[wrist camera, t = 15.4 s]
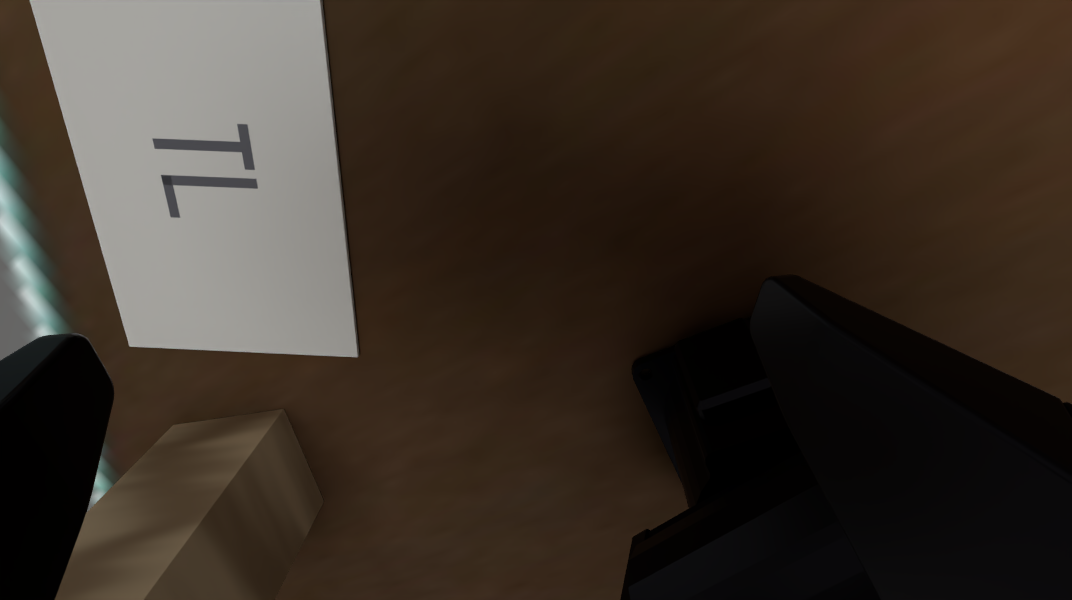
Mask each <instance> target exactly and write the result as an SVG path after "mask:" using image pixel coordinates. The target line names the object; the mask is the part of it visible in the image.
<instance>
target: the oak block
mask: <svg viewBox="0 0 1072 600" xmlns="http://www.w3.org/2000/svg"><path fill="white" fill-rule="evenodd" d="M323 502H324V500H323V497H322V495H321V493H320V491H319V488H318V486H317V484H316V481H315V479H314V477H313V475H312V472H311V470H310V468H309V465H308V463H307V461H306V458H305V456H304V454H303V452H302V449H301V447H300V445H299V442H298V440H297V438H296V436H295V433H294V431H293V429H292V426H291V424H290V422H289V419H288V417H287V415H286V413H285V410H284V409H279V410H272V411H266V412H259V413H252V414H245V415H238V416H231V417H225V418H218V419H211V420H204V421H197V422H190V423H184V424H177V425H173V426H172V427H171V428H170V429H169V430H168V431H167V432H166V433H165V434H164V435H163V436H162V437H161V438H160V439H159V440H158V441H157V442H156V443H155V444H154V445H153V446H152V447H151V448H150V449H149V450H148V451H147V452H146V453H145V454H144V455H143V456H142V457H141V458H140V459H139V460H138V461H137V462H136V463H135V464H134V465H133V466H132V467H131V468H130V469H129V470H128V471H127V472H126V473H125V474H124V475H123V476H122V477H121V478H120V479H119V480H118V481H117V482H116V483H115V484H114V485H113V486H112V487H111V489H110V490H109V491H108V492H107V493H106V494H105V495H104V496H103V497H102V498H101V499H100V500H99V501H98V502H97V503H96V504H95V505H94V506H93V507H92V508H91V509H90V510H89V511H88V512H87V513H86V515H85V518H84V521H83V524H82V527H81V530H80V533H79V535H78V538H77V541H76V543H75V546H74V549H73V552H72V554H71V557H70V560H69V563H68V565H67V568H66V571H65V573H64V576H63V579H62V582H61V584H60V587H59V590H58V593H57V595H56V598H55V600H274V599H275V597H276V595H277V594H278V592H279V590H280V588H281V586H282V584H283V582H284V580H285V578H286V576H287V574H288V572H289V570H290V568H291V566H292V564H293V562H294V560H295V558H296V556H297V554H298V552H299V550H300V548H301V546H302V544H303V542H304V540H305V538H306V536H307V534H308V532H309V530H310V528H311V526H312V524H313V522H314V520H315V518H316V516H317V514H318V512H319V510H320V508H321V506H322V504H323Z"/></svg>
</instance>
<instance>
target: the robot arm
mask: <svg viewBox="0 0 1072 600" xmlns="http://www.w3.org/2000/svg"><path fill="white" fill-rule="evenodd" d="M643 369H649V370H651V371H650V373H648V374H646V375H642V374H640V371H641V370H643ZM631 370H632V375H633V379H634V381H635V384H636V386H637V388H638V390H639V392H640V394H641V396H642V399H643V401H644V403H645V405H646V407H647V409H648V412H649V414H650V416H651V418H652V420H653V422H654V424H655V427H656V429H657V431H658V433H659V435H660V437H661V439H662V442H663V444H664V446H665V448H666V450H667V452H668V454H669V457H670V459H671V461H672V463H673V465H674V467H675V469H676V472H677V474H678V476H679V478H680V480H681V482H682V485H683V488H684V492H685V496H686V499H687V503H688V507H689V509H688V510H686V511H684V512H682V513H681V514H679V515H677V516H675V517H674V518H672V519H670V520H668V521H667V522H665V523H663V524H661V525H660V526H658V527H656V528H654V529H653V530H651V531H650V530H649V529H646V530H644V531H642V532H641V533H639V534H637V535H635V536H634V537H633V538H632V543H631V548H630V554H629V559H628V564H627V569H626V574H625V579H624V584H623V589H622V594H621V599H620V600H1072V404H1070V403H1068V402H1064V403H1062V401H1061V400H1060V399H1059V398H1057V397H1055V396H1053V395H1051V394H1049V393H1047V392H1044V391H1042V390H1040V389H1038V388H1036V387H1034V386H1032V385H1030V384H1027V383H1025V382H1023V381H1021V380H1019V379H1017V378H1015V377H1012V376H1010V375H1008V374H1006V373H1004V372H1002V371H1000V370H998V369H995V368H993V367H991V366H989V365H987V364H985V363H983V362H980V361H978V360H976V359H974V358H972V357H970V356H968V355H965V354H963V353H961V352H959V351H957V350H955V349H953V348H951V347H948V346H946V345H944V344H942V343H940V342H938V341H936V340H933V339H931V338H929V337H927V336H925V335H923V334H921V333H919V332H916V331H914V330H912V329H910V328H908V327H906V326H904V325H901V324H899V323H897V322H895V321H893V320H891V319H889V318H887V317H884V316H882V315H880V314H878V313H876V312H874V311H872V310H869V309H867V308H865V307H863V306H861V305H859V304H857V303H855V302H852V301H850V300H848V299H846V298H844V297H842V296H840V295H837V294H835V293H833V292H831V291H829V290H827V289H825V288H823V287H820V286H818V285H816V284H814V283H812V282H810V281H808V280H805V279H803V278H801V277H799V276H796V275H781V276H771V277H768V278H767V279H766V280H765V281H764V282H763V284H762V286H761V289H760V292H759V295H758V298H757V301H756V304H755V307H754V310H753V313H752V316H751V317H750V318H747V319H743V318H739V319H736V320H734V321H731V322H728V323H726V324H723V325H720V326H718V327H715V328H712V329H710V330H707V331H704V332H702V333H699V334H697V335H694V336H691V337H689V338H686V339H683V340H681V341H679V342H678V343H677V344H676V345H675V346H673V347H670V348H667V349H665V350H662V351H659V352H656V353H654V354H651V355H648V356H646V357H643V358H640V359H639V360H637V361H635V362H634V364H633V365H632V369H631ZM113 400H114V386H113V383H112V380H111V378H110V376H109V374H108V372H107V371H106V369H105V367H104V365H103V364H102V362H101V360H100V358H99V357H98V355H97V353H96V351H95V349H94V348H93V346H92V344H91V343H90V341H89V340H88V339H87V338H86V337H85V336H83V335H81V334H78V333H71V334H58V335H47V336H42V337H39V338H37V339H35V340H34V341H32V342H30V343H29V344H27V345H26V346H24V347H22V348H21V349H19V350H17V351H16V352H14V353H12V354H10V355H9V356H7V357H6V358H4V359H2V360H1V361H0V600H55V598H56V595H57V593H58V590H59V587H60V584H61V582H62V579H63V576H64V573H65V571H66V568H67V565H68V563H69V560H70V557H71V554H72V552H73V549H74V546H75V543H76V541H77V538H78V535H79V533H80V530H81V527H82V524H83V521H84V518H85V515H86V512H87V509H88V505H89V501H90V498H91V494H92V490H93V486H94V482H95V477H96V473H97V469H98V465H99V460H100V456H101V452H102V448H103V443H104V439H105V435H106V430H107V426H108V422H109V418H110V413H111V409H112V405H113Z"/></svg>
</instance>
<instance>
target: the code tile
mask: <svg viewBox="0 0 1072 600" xmlns="http://www.w3.org/2000/svg"><path fill="white" fill-rule="evenodd" d="M30 3H31V6H32V10H33V13H34V17H35V20H36V24H37V27H38V30H39V34H40V37H41V41H42V44H43V48H44V51H45V55H46V58H47V62H48V65H49V69H50V72H51V76H52V79H53V82H54V86H55V89H56V93H57V96H58V100H59V103H60V107H61V110H62V114H63V117H64V121H65V124H66V128H67V131H68V135H69V138H70V141H71V145H72V148H73V152H74V155H75V159H76V162H77V166H78V169H79V173H80V176H81V180H82V183H83V187H84V190H85V194H86V197H87V200H88V204H89V207H90V211H91V214H92V218H93V221H94V225H95V228H96V232H97V235H98V239H99V242H100V246H101V249H102V253H103V256H104V259H105V263H106V266H107V270H108V273H109V277H110V280H111V284H112V287H113V291H114V294H115V298H116V301H117V305H118V308H119V312H120V315H121V318H122V322H123V325H124V329H125V332H126V336H127V339H128V343H129V346H130V347H151V348H172V349H194V350H215V351H236V352H257V353H278V354H299V355H321V356H342V357H358V356H359V345H358V336H357V326H356V317H355V307H354V298H353V288H352V279H351V269H350V259H349V250H348V240H347V231H346V221H345V212H344V202H343V193H342V183H341V174H340V164H339V154H338V145H337V135H336V126H335V116H334V107H333V97H332V88H331V78H330V69H329V59H328V49H327V40H326V30H325V21H324V11H323V2H322V0H30Z"/></svg>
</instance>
